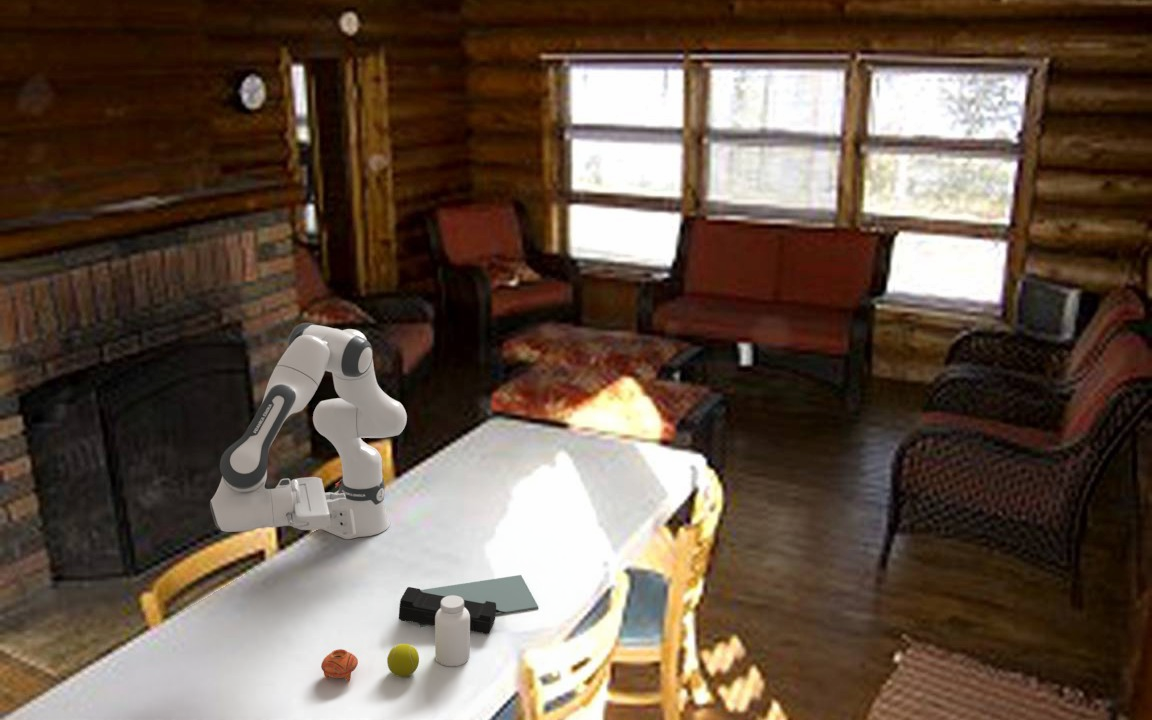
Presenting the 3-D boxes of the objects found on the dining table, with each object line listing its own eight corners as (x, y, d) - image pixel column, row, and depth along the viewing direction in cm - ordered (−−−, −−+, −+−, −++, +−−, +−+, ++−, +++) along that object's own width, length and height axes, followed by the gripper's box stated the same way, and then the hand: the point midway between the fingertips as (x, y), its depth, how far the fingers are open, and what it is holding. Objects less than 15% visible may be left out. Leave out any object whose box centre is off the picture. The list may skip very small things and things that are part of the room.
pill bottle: (455, 671, 231) (455, 614, 226) (428, 660, 235) (427, 603, 230) (477, 654, 237) (476, 598, 233) (450, 643, 241) (449, 587, 237)
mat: (419, 627, 247) (419, 625, 247) (408, 593, 262) (408, 591, 261) (538, 608, 257) (538, 606, 256) (521, 576, 271) (521, 574, 271)
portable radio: (396, 624, 246) (497, 643, 244) (398, 602, 244) (499, 621, 242) (406, 606, 254) (504, 625, 251) (407, 585, 252) (506, 603, 249)
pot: (326, 691, 223) (322, 662, 222) (320, 678, 230) (317, 650, 229) (363, 682, 226) (359, 652, 225) (356, 669, 233) (352, 641, 232)
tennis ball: (420, 664, 234) (420, 637, 231) (417, 682, 227) (416, 656, 225) (390, 664, 233) (389, 637, 231) (385, 682, 227) (384, 655, 224)
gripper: (287, 515, 226) (350, 507, 230) (281, 475, 244) (340, 468, 248) (289, 540, 228) (352, 531, 232) (283, 499, 246) (341, 492, 250)
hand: (346, 499), depth 240 cm, fingers closed
